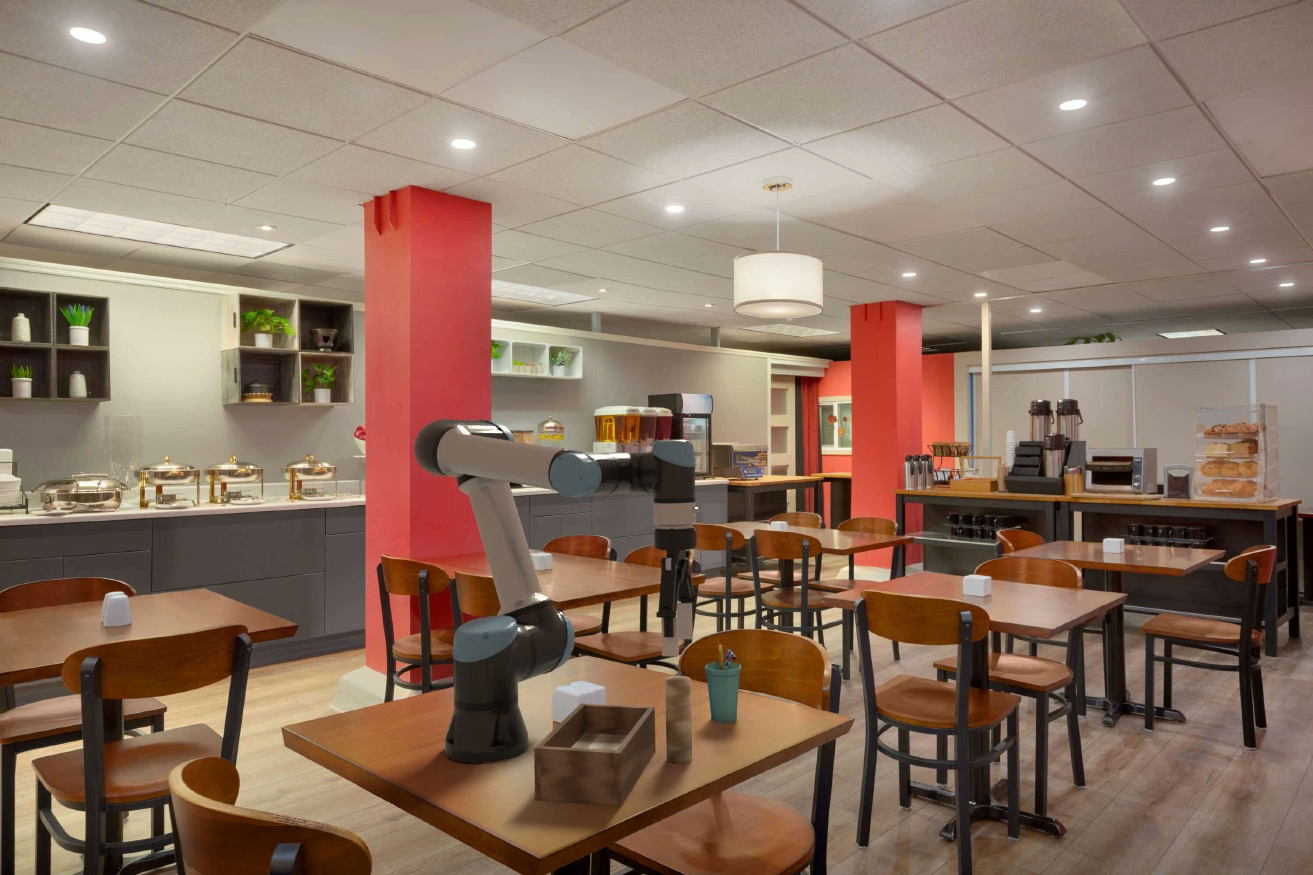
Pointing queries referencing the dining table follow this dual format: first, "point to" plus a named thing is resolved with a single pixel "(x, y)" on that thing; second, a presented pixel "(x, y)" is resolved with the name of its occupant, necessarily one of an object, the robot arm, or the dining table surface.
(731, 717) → the cup
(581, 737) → the crate
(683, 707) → the peg
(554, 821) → the dining table surface
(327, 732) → the dining table surface
